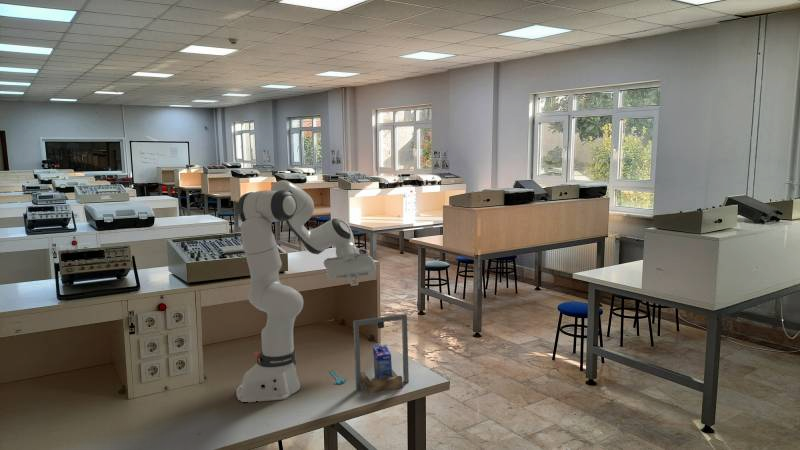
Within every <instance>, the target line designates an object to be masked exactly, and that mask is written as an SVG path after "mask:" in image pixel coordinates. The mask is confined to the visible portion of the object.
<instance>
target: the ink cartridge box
mask: <svg viewBox="0 0 800 450" xmlns="http://www.w3.org/2000/svg"><path fill="white" fill-rule="evenodd" d="M372 353H373V354H372V355H373V370H374V378H375V379H374V380H379V379H385V378H390V377H392V370H393V365H392V364H393V363H392V354H391V351H390V350H389V348H388V346H387V345H385V344H384V345H379V343H376V345H374V346H372Z"/></svg>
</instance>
